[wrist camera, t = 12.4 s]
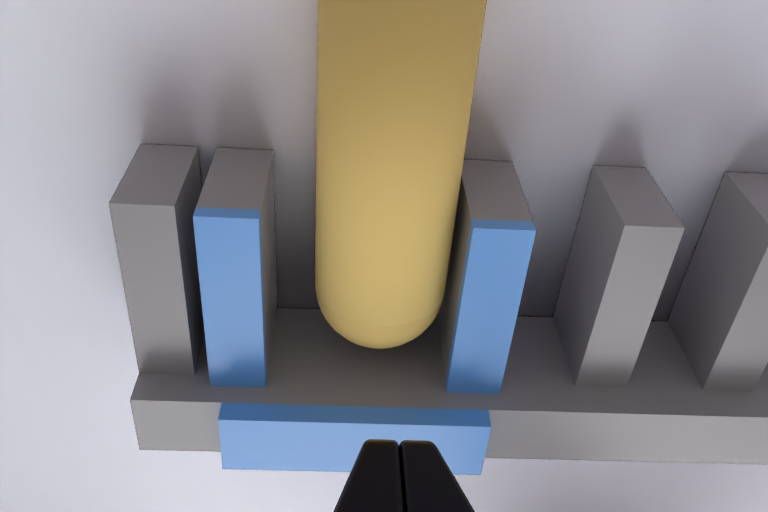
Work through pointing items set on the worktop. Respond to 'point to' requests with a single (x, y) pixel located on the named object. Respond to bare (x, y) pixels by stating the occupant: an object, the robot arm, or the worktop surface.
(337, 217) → the yellow rounded cylinder
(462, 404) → the slotted dish rack
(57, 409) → the worktop surface
